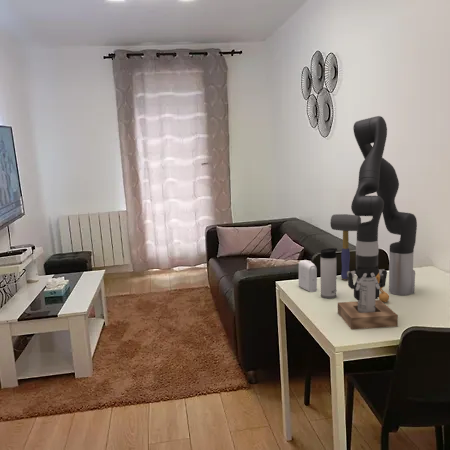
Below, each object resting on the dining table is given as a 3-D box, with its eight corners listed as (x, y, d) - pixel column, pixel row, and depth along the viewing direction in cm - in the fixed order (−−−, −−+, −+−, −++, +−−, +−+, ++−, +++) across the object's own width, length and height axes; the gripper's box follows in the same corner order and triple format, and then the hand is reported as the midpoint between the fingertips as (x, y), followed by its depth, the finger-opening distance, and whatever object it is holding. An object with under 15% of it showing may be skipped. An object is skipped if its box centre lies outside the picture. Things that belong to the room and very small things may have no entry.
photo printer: (318, 291, 209) (318, 262, 207) (309, 292, 207) (309, 264, 205) (305, 284, 218) (305, 257, 216) (297, 286, 217) (296, 258, 215)
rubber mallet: (329, 280, 224) (329, 215, 218) (334, 276, 230) (334, 212, 225) (357, 283, 217) (357, 216, 212) (361, 278, 224) (362, 213, 219)
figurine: (386, 306, 188) (386, 275, 186) (370, 303, 191) (370, 273, 189) (391, 299, 195) (392, 270, 192) (376, 297, 198) (377, 268, 196)
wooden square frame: (379, 310, 184) (380, 299, 183) (397, 326, 168) (397, 315, 167) (337, 312, 183) (337, 302, 182) (351, 329, 167) (351, 318, 166)
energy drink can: (378, 318, 173) (379, 277, 170) (362, 320, 172) (363, 279, 169) (369, 312, 179) (370, 272, 176) (354, 314, 178) (354, 274, 175)
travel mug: (337, 299, 198) (337, 250, 194) (320, 298, 199) (320, 250, 196) (337, 294, 204) (337, 247, 200) (320, 293, 205) (320, 246, 202)
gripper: (383, 249, 175) (382, 294, 178) (343, 251, 174) (343, 296, 177) (391, 254, 168) (390, 301, 171) (350, 256, 167) (349, 303, 170)
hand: (366, 298), depth 174 cm, fingers closed on energy drink can, 6 cm apart
